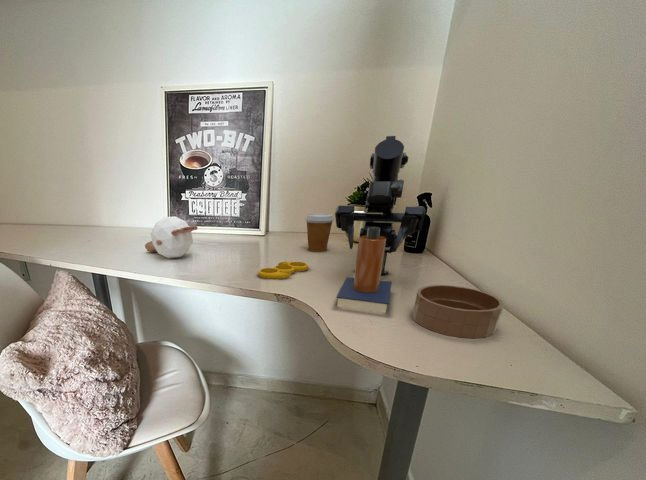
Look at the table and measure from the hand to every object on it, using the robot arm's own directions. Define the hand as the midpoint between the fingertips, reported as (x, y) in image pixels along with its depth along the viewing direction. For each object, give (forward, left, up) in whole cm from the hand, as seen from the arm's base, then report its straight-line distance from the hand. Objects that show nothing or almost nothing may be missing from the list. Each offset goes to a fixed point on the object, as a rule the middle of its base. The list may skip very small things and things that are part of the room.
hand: (372, 249), depth 74 cm
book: (+4, +4, -10) cm, 12 cm away
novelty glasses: (+8, -23, -10) cm, 27 cm away
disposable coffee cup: (-17, -41, -10) cm, 46 cm away
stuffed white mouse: (+32, -57, -10) cm, 67 cm away
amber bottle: (+4, +4, -7) cm, 9 cm away
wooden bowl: (-1, +20, -10) cm, 23 cm away
